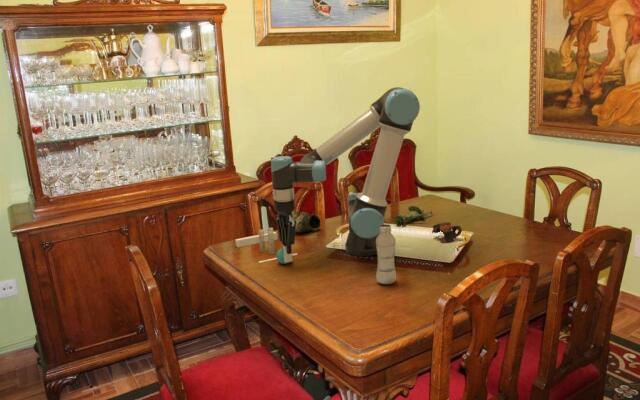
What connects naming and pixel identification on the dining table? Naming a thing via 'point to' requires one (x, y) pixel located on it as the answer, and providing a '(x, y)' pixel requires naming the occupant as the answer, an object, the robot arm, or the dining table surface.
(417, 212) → the figure
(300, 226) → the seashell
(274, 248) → the pin
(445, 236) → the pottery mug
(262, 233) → the pin
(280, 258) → the ball
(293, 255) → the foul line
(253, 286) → the dining table surface
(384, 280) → the plastic bottle
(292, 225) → the robot arm
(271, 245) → the pin front
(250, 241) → the back rail
